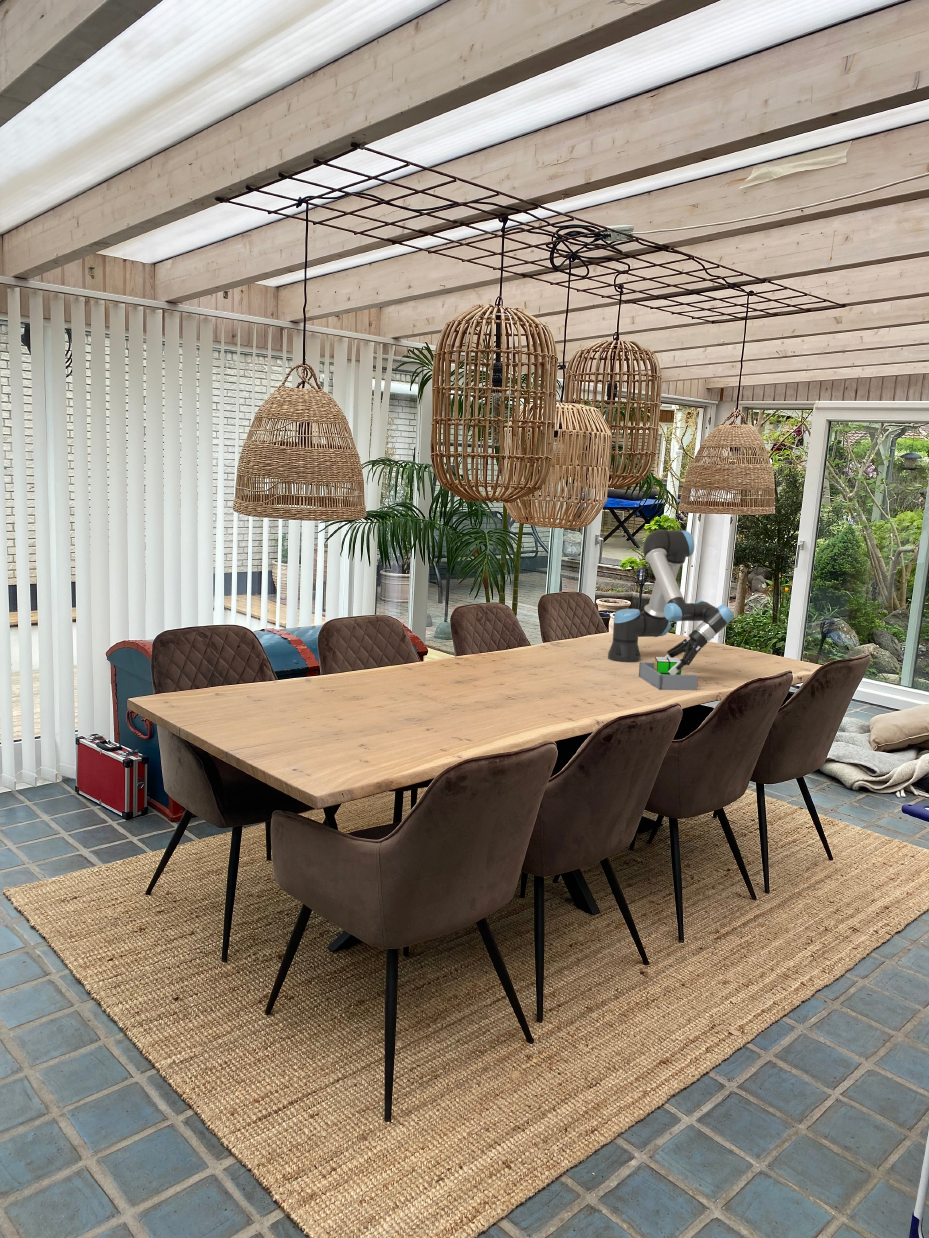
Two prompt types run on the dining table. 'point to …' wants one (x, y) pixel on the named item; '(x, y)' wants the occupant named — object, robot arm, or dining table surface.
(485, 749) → the dining table surface
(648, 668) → the grey u-shaped wall
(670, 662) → the puzzle cube
